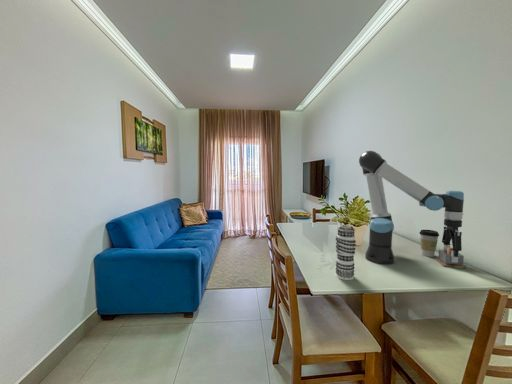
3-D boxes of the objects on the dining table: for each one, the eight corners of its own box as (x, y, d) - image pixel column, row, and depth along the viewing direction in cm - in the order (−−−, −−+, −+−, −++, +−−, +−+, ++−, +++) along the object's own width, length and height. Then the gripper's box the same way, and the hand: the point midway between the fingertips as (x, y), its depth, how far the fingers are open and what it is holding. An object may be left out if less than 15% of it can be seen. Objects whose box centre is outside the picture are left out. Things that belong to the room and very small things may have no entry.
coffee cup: (441, 258, 137) (443, 233, 136) (422, 257, 139) (424, 232, 138) (432, 252, 146) (433, 229, 145) (415, 251, 148) (416, 228, 147)
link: (445, 263, 126) (445, 254, 125) (438, 258, 133) (438, 249, 133) (463, 264, 123) (463, 255, 123) (455, 259, 131) (455, 251, 130)
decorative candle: (331, 276, 113) (332, 226, 111) (339, 270, 120) (341, 223, 118) (349, 282, 107) (351, 229, 105) (357, 276, 113) (359, 226, 111)
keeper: (443, 266, 125) (444, 250, 124) (435, 259, 135) (436, 244, 134) (465, 268, 122) (467, 252, 121) (456, 261, 132) (457, 246, 131)
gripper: (472, 223, 115) (469, 267, 117) (451, 216, 135) (448, 253, 137) (454, 222, 117) (451, 265, 119) (436, 215, 138) (433, 252, 139)
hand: (450, 259), depth 128 cm, fingers open, 8 cm apart
